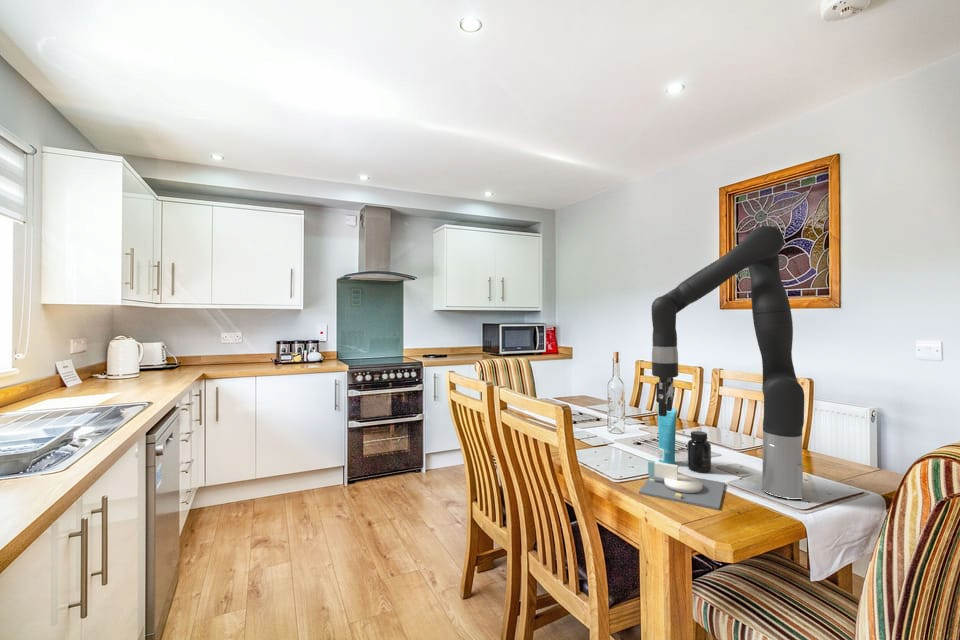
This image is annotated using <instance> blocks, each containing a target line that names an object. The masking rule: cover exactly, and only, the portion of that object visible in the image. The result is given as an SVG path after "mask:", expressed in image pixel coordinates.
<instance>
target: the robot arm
mask: <svg viewBox="0 0 960 640" xmlns="http://www.w3.org/2000/svg"><path fill="white" fill-rule="evenodd" d="M784 242H785V238H784V235H783V233H782V232H781V230H780V229H778V228H777V227H775V226H772V225H763V226H759V227H756V228H754V229H753V230H751V231H750V232H749V233H748V234H747V236H746V237H745V238H743V239H742V240H741V241H740V242H739V243H738V244H737V245H736V246H735V247H733V248H732V249H731V250H730V251H728V252H726V254H724V255H722V256H721V257H720V258H718V259H716V260H714V261H713V262H712V263H709V264H708V265H706V266H705V267H704V268H701V269H700V270H699V271H698V270H697V272H695V273H694V274H692V275H690V276H689V277H687V278H686V279H684V280H683V281H681V282H680V283H679V284H678V285H677V286H676V287H675V288H673V289H672V290H669V292H667V293H665V294H664V295H661V296H659V297H656V298H655V299H654V300H653V302H652V303H651V320H652V350H651V376H653V377H656V378H659V379H658V382H656V386H655V387H656V388H655V389H656V392H655V393H656V396H655V398H656V399H655V401H656V403H657V404H658V405H659V416H666V415H667V411H671V410H672V408H673V402H672V401H673V399H674V395H675V393H674V392H675V390H674V378H677V377H678V376H679V351H678V335H677V314H678V313H679V312H680V311H682V310H683V309H685V308H687V307H688V306H689V305H691V304H693V303H695V302H697V301H699V300H700V299H702V298H703V297H705V296H707V295H708V294H710V293H711V292H713V291H714V290H716V289H717V288H718V287H720V286H722V284H724V283H725V282H727V281H728V280H730V279H731V278H732V277H733V276H735V275H736V274H738V273H740V272H742V271H743V270H744V269H746V268H748V271H749V276H750V291H751V292H750V293H751V294H750V295H751V310H752V311H751V312H752V318H753V320H752V322H753V327H754V331H755V332H754V333H755V337H756V340H757V345H758V348H759V352H760V355H761V362H762V363H761V365H762V385H761V386H762V389H761V390H762V395H763V418H762V419H763V421H762V471H761V472H762V474H761V475H762V477H761V479H762V480H761V481H762V483H761V485H762V486H761V487H762V488H763V490H765V491H766V492H768V493H771V494H773V495H777V496H781V497H789V498H803V493H804V492H803V489H804V488H803V484H804V483H803V481H804V480H803V477H804V476H803V474H804V470H803V469H804V465H803V429H804V424H805V392H804V389H803V387H802V385H801V384H800V383H799V382H798V378H797V376H796V372H795V367H794V363H793V354H792V352H793V351H792V350H793V340H794V338H793V336H794V333H793V332H794V330H793V329H794V327H793V323H794V322H793V316H792V311H791V310H792V309H791V304H790V300H789V296H788V294H787V291H786V288H785V287H784V283H783V281H782V278H781V273H780V254H779V253H780V252H781V251H782V248H783V246H784ZM763 490H762V491H763Z"/></svg>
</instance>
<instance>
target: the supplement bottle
mask: <svg viewBox="0 0 960 640" xmlns="http://www.w3.org/2000/svg"><path fill="white" fill-rule="evenodd" d="M687 467H688V470H690V471H691V472H695V473H701V474H702V473H703V474H704V473H705V474H706V473H710V472H711V471H712V445H711V443H710V442H709V441H708V433H707V432H705V431H699V430H695V431H691V432H690V439H689V440H688V442H687Z"/></svg>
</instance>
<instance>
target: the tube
mask: <svg viewBox="0 0 960 640" xmlns="http://www.w3.org/2000/svg"><path fill="white" fill-rule="evenodd" d="M656 409H657V422H658V423H657V424H658V425H657V429H658V460H659V461H658V462H661V463H667V464H673V465H676V429H677V415H678V408H677V407H676V408H675V407H672V410H671V411H667V415H666V416H659V404H657V408H656Z"/></svg>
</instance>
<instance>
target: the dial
mask: <svg viewBox="0 0 960 640" xmlns="http://www.w3.org/2000/svg"><path fill="white" fill-rule="evenodd" d="M678 474H679V465H677V464H674V465H673V464H667V463H661V462H659V461H655V460H648V462H647V476H648V477H650V476H653V477H660V478H664V484H665V486H666V487H668V488H670V489H672V490H675V491H679V492H684V493H697V492H700V491H702V482H701V481H700V480H698V479H696V478H697V477H696V478H694V476H690V475H685V474H679V475H678Z"/></svg>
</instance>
